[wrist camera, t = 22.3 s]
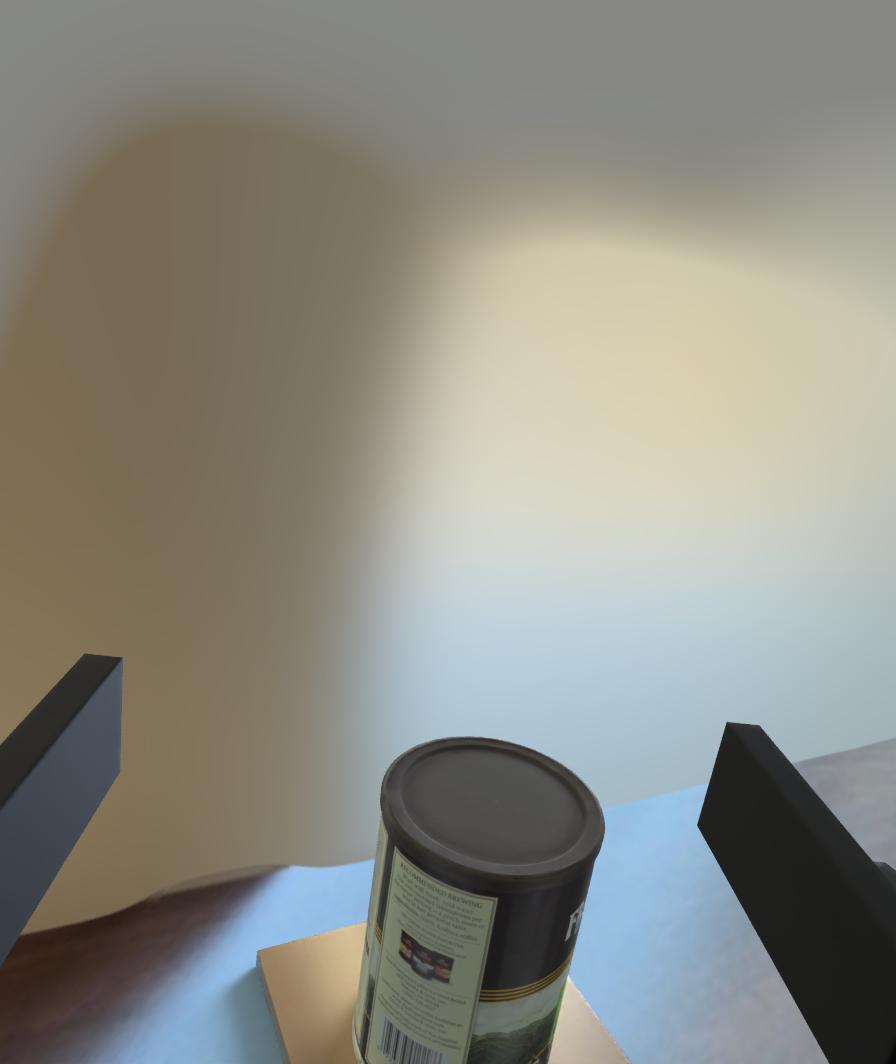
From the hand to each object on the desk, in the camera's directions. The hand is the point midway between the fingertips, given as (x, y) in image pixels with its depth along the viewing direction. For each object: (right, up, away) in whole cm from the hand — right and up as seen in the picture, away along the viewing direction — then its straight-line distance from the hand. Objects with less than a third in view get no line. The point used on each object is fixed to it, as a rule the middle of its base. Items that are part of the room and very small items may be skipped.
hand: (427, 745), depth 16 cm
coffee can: (0, -21, +22) cm, 31 cm away
